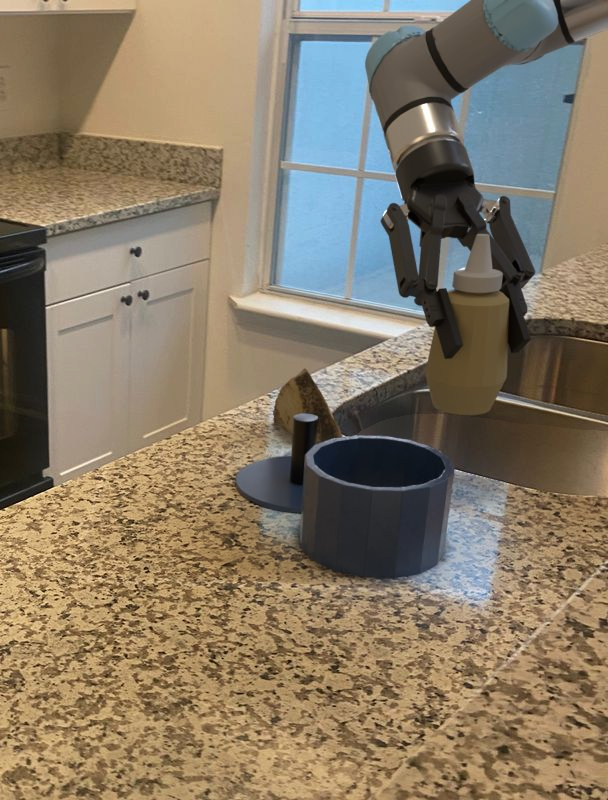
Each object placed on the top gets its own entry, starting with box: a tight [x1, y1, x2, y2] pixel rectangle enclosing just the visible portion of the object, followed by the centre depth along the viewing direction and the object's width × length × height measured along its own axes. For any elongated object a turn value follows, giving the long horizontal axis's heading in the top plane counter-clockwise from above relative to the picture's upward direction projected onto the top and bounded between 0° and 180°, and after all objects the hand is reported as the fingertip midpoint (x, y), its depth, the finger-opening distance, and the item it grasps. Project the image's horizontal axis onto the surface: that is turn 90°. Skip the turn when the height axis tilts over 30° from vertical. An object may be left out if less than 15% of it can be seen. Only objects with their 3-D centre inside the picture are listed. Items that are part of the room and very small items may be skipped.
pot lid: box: [235, 413, 318, 514], centre depth 113 cm, size 15×15×9 cm
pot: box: [299, 434, 456, 580], centre depth 100 cm, size 14×14×10 cm
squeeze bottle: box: [424, 234, 509, 416], centre depth 105 cm, size 8×8×18 cm
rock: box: [272, 367, 343, 444], centre depth 128 cm, size 11×9×10 cm
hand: (487, 348), depth 102 cm, fingers closed on squeeze bottle, 6 cm apart
